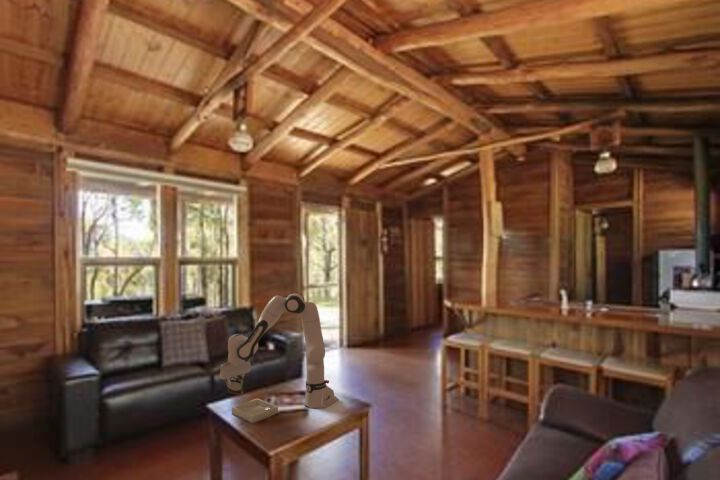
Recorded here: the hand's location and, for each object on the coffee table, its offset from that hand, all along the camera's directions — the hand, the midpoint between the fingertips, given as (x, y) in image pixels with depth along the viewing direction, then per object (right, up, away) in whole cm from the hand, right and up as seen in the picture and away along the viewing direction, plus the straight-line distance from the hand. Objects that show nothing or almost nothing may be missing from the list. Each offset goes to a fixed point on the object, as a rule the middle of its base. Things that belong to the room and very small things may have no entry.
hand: (235, 382), depth 256 cm
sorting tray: (+15, -14, -13) cm, 24 cm away
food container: (+1, -6, +3) cm, 7 cm away
